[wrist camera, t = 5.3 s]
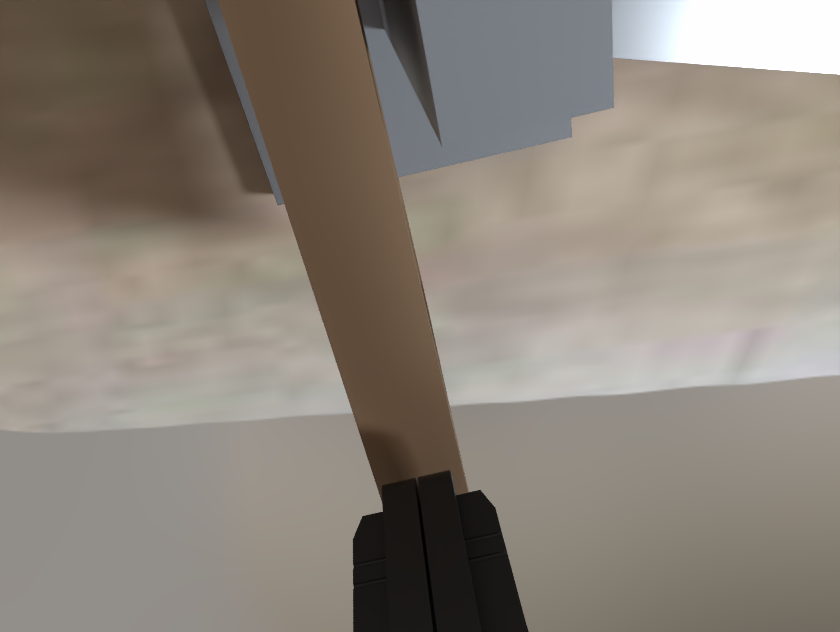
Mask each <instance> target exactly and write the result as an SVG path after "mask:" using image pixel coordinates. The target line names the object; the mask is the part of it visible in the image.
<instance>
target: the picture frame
mask: <svg viewBox="0 0 840 632" xmlns="http://www.w3.org/2000/svg"><path fill="white" fill-rule="evenodd" d="M218 2H219V5H220V8H221V11H222V14H223V17H224V20H225V23H226V26H227V30H228V33H229V36H230V39H231V42H232V45H233V48H234V51H235V54H236V57H237V60H238V63H239V66H240V69H241V72H242V75H243V78H244V81H245V85H246V88H247V91H248V94H249V97H250V100H251V103H252V106H253V109H254V112H255V115H256V118H257V121H258V124H259V127H260V130H261V133H262V136H263V140H264V143H265V146H266V149H267V152H268V155H269V158H270V161H271V164H272V167H273V170H274V173H275V176H276V179H277V182H278V185H279V188H280V191H281V195H282V198H283V201H284V204H285V207H286V210H287V213H288V216H289V219H290V222H291V225H292V228H293V231H294V234H295V237H296V240H297V243H298V246H299V250H300V253H301V256H302V259H303V262H304V265H305V268H306V271H307V274H308V277H309V280H310V283H311V286H312V289H313V292H314V295H315V298H316V301H317V305H318V308H319V311H320V314H321V317H322V320H323V323H324V326H325V329H326V332H327V335H328V338H329V341H330V344H331V347H332V350H333V353H334V356H335V360H336V363H337V366H338V369H339V372H340V375H341V378H342V381H343V384H344V387H345V390H346V393H347V396H348V399H349V402H350V405H351V408H352V412H353V415H354V418H355V421H356V423H357V427H358V430H359V433H360V436H361V439H362V442H363V445H364V448H365V451H366V454H367V457H368V460H369V463H370V466H371V470H372V472H373V476H374V479H375V482H376V485H377V488H378V491H379V494H380V497H381V500H382V485H385V484H389V483H394V482H398V481H403V480H407V479H412V478H416V480H417V483H418V477H420V476H425V475H429V474H434V473H438V472H443V471H447V470H451V474H452V477H453V482H454V486H455V490H456V494H457V495H460V494H464V493H469V492H468V487H467V483H466V478H465V473H464V469H463V464H462V460H461V455H460V451H459V447H458V442H457V437H456V433H455V429H454V424H453V419H452V415H451V410H450V406H449V401H448V397H447V392H446V387H445V383H444V378H443V374H442V369H441V365H440V360H439V356H438V351H437V347H436V342H435V338H434V333H433V329H432V324H431V320H430V315H429V311H428V306H427V302H426V297H425V293H424V289H423V284H422V280H421V276H420V271H419V267H418V262H417V258H416V254H415V249H414V245H413V241H412V236H411V232H410V228H409V223H408V219H407V214H406V210H405V206H404V201H403V197H402V193H401V188H400V184H399V179H398V175H397V171H396V166H395V162H394V158H393V153H392V149H391V144H390V140H389V136H388V131H387V127H386V123H385V118H384V114H383V109H382V105H381V101H380V96H379V92H378V88H377V83H376V79H375V75H374V70H373V66H372V61H371V57H370V53H369V48H368V44H367V40H366V35H365V31H364V26H363V22H362V18H361V13H360V9H359V5H358V0H218Z"/></svg>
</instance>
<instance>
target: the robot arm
mask: <svg viewBox="0 0 840 632" xmlns="http://www.w3.org/2000/svg"><path fill="white" fill-rule="evenodd" d="M382 504H383V512H379V513H375V514H371V515H366V516H363V517H362V519H361V521H360V524H359V526H358V528H357V531H356V533H355V536H354V538H353V565H354V569H353V585H354V589H353V625H354V626H353V632H528V628H527V625H526V622H525V618H524V614H523V611H522V607H521V604H520V599H519V596H518V592H517V588H516V584H515V580H514V577H513V573H512V569H511V566H510V562H509V558H508V555H507V550H506V547H505V543H504V539H503V536H502V532H501V528H500V524H499V521H498V517H497V513H496V509H495V507H494V506H493V505H492V503H491V502H490V501H489V500H488V499H487V498H486V496H485V495H484V494H483V493H482V492H481V490H478V491H473V492H469V493H464V494H460V495H457V494H456V490H455V486H454V482H453V477H452V474H451V470H447V471H443V472H438V473H434V474H429V475H425V476H420V477H418V483H417V480H416V478H412V479H407V480H403V481H398V482H394V483H389V484H385V485H382Z"/></svg>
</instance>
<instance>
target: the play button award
mask: <svg viewBox="0 0 840 632" xmlns="http://www.w3.org/2000/svg"><path fill="white" fill-rule="evenodd" d="M612 31H613V58H624V59H637V60H651V61H665V62H679V63H693V64H707V65H721V66H734V67H748V68H762V69H776V70H790V71H804V72H818V73H831V74H840V0H612Z"/></svg>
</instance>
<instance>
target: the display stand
mask: <svg viewBox="0 0 840 632" xmlns="http://www.w3.org/2000/svg"><path fill="white" fill-rule="evenodd" d="M205 3H206V6H207V8H208V11H209V14H210V17H211V20H212V22H213V25H214V28H215V31H216V34H217V36H218V39H219V42H220V45H221V48H222V50H223V53H224V56H225V59H226V62H227V64H228V67H229V70H230V73H231V76H232V78H233V81H234V84H235V87H236V90H237V92H238V95H239V98H240V101H241V104H242V107H243V109H244V112H245V115H246V118H247V121H248V123H249V126H250V129H251V132H252V135H253V137H254V140H255V143H256V146H257V149H258V151H259V154H260V157H261V160H262V163H263V165H264V168H265V171H266V174H267V177H268V179H269V182H270V185H271V188H272V191H273V193H274V196H275V199H276V202H277V205H281V204H284V201H283V198H282V195H281V191H280V188H279V185H278V182H277V179H276V176H275V173H274V170H273V167H272V164H271V161H270V158H269V155H268V152H267V149H266V146H265V143H264V140H263V136H262V133H261V130H260V127H259V124H258V121H257V118H256V115H255V112H254V109H253V106H252V103H251V100H250V97H249V94H248V91H247V88H246V85H245V81H244V78H243V75H242V72H241V69H240V66H239V63H238V60H237V57H236V54H235V51H234V48H233V45H232V42H231V39H230V36H229V33H228V30H227V26H226V23H225V20H224V17H223V14H222V11H221V8H220V5H219V2H218V0H205ZM358 5H359V9H360V13H361V18H362V22H363V26H364V31H365V35H366V40H367V44H368V48H369V53H370V57H371V61H372V66H373V70H374V75H375V79H376V83H377V88H378V92H379V96H380V101H381V105H382V109H383V114H384V118H385V123H386V127H387V131H388V136H389V140H390V144H391V149H392V153H393V158H394V162H395V166H396V171H397V175H398V177H402V176H406V175H410V174H415V173H419V172H423V171H428V170H432V169H436V168H441V167H445V166H449V165H454V164H458V163H462V162H466V161H471V160H475V159H479V158H484V157H488V156H492V155H497V154H501V153H505V152H510V151H514V150H518V149H522V148H527V147H531V146H535V145H540V144H544V143H548V142H553V141H557V140H561V139H565V138H570V137H572V127H571V118H572V117H576V116H580V115H585V114H589V113H593V112H598V111H602V110H606V109H610V108H614V90H613V31H612V0H358Z"/></svg>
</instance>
